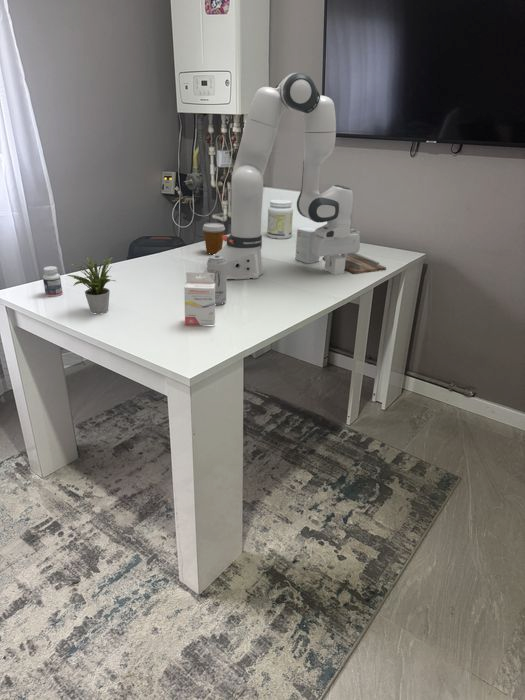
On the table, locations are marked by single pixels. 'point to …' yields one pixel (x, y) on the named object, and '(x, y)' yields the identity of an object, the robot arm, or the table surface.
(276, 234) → the supplement tub
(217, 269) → the energy drink can
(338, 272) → the module block
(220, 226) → the disposable coffee cup
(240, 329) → the table surface
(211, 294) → the ink cartridge box
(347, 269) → the brown flat wooden board
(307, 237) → the small box
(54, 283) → the pill bottle
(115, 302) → the table surface
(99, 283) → the house plant
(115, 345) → the table surface
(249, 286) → the table surface
